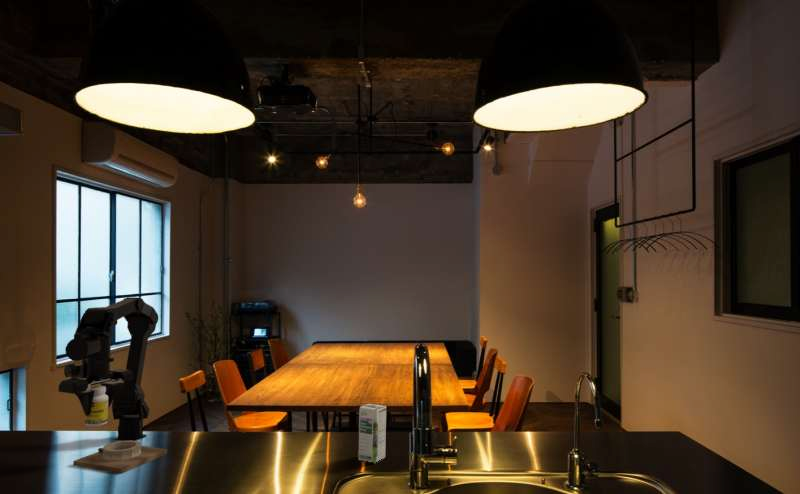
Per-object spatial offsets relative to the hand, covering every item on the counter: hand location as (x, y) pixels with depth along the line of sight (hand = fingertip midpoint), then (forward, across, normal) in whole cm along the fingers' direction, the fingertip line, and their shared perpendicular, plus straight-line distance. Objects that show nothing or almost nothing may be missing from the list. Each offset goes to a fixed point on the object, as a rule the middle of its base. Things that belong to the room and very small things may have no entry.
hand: (96, 412), depth 148 cm
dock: (+13, -3, +6) cm, 14 cm away
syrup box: (+13, -31, +68) cm, 76 cm away
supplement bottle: (+3, 0, 0) cm, 3 cm away
